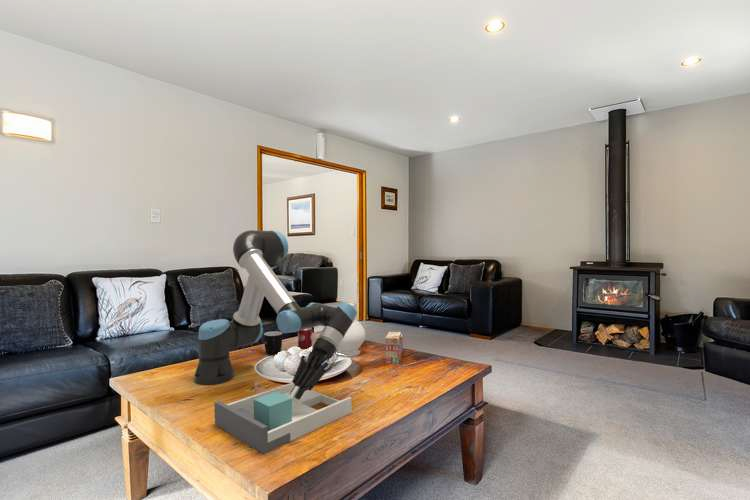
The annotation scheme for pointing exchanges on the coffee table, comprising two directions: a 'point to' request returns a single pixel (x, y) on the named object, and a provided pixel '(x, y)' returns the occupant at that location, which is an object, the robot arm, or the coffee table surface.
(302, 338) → the soda can
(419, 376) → the coffee table surface
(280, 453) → the coffee table surface
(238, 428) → the tray
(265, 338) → the mug
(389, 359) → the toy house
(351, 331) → the decorative vase
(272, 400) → the block
